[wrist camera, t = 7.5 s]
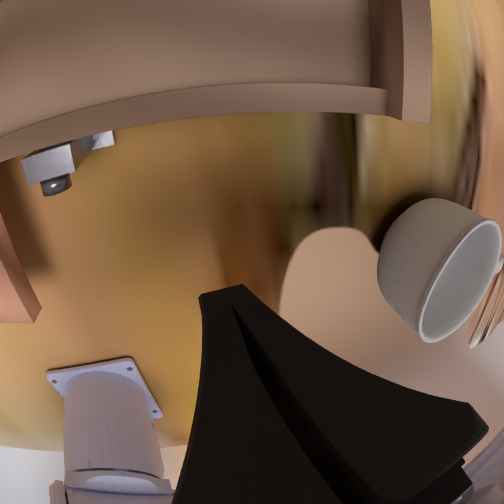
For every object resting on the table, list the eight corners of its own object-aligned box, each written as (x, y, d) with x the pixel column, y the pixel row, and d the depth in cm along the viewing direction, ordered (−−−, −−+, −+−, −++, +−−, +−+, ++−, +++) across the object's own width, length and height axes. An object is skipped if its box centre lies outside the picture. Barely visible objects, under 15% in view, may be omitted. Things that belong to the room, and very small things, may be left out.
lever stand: (116, 150, 14) (104, 181, 9) (47, 168, 13) (10, 208, 8) (103, -37, 8) (90, -85, 4) (31, -15, 7) (-9, -48, 3)
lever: (357, 282, 14) (384, 329, 11) (-5, 308, 13) (-28, 347, 10) (370, -54, 6) (415, -79, 3) (-74, 55, 5) (-117, 66, 2)
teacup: (342, 292, 25) (398, 357, 19) (385, 171, 20) (470, 218, 14) (431, 282, 31) (478, 324, 24) (467, 195, 26) (525, 230, 19)
